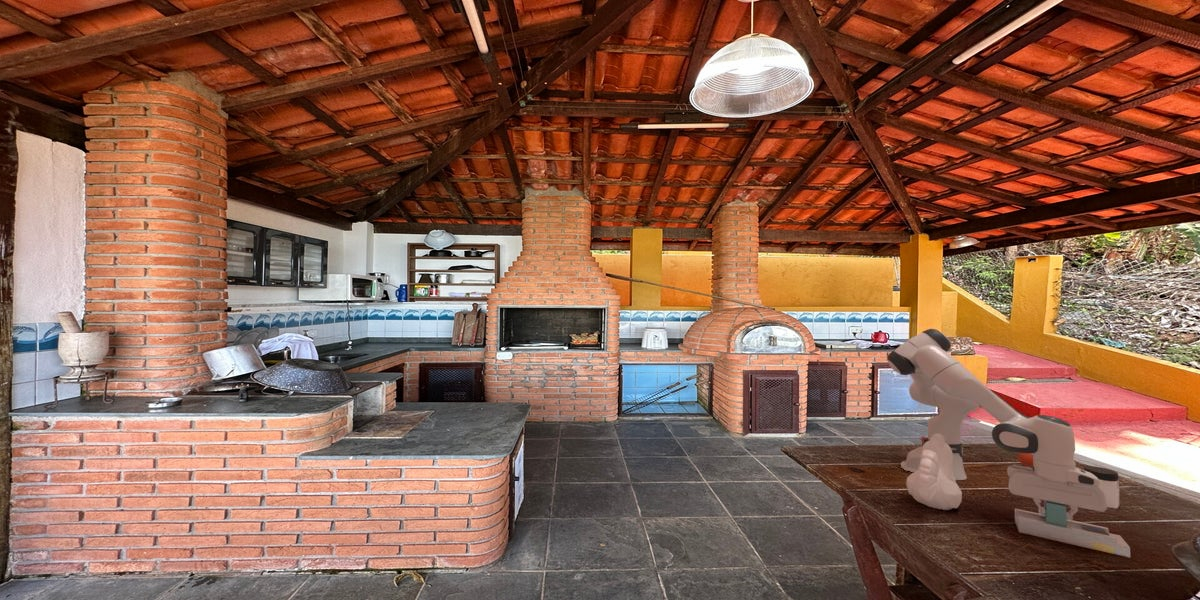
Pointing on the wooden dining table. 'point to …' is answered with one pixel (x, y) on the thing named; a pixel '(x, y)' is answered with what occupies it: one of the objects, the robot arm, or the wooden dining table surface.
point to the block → (1055, 513)
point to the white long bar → (1072, 533)
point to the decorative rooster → (935, 476)
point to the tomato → (1026, 459)
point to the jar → (1107, 484)
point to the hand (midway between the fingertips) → (1055, 516)
